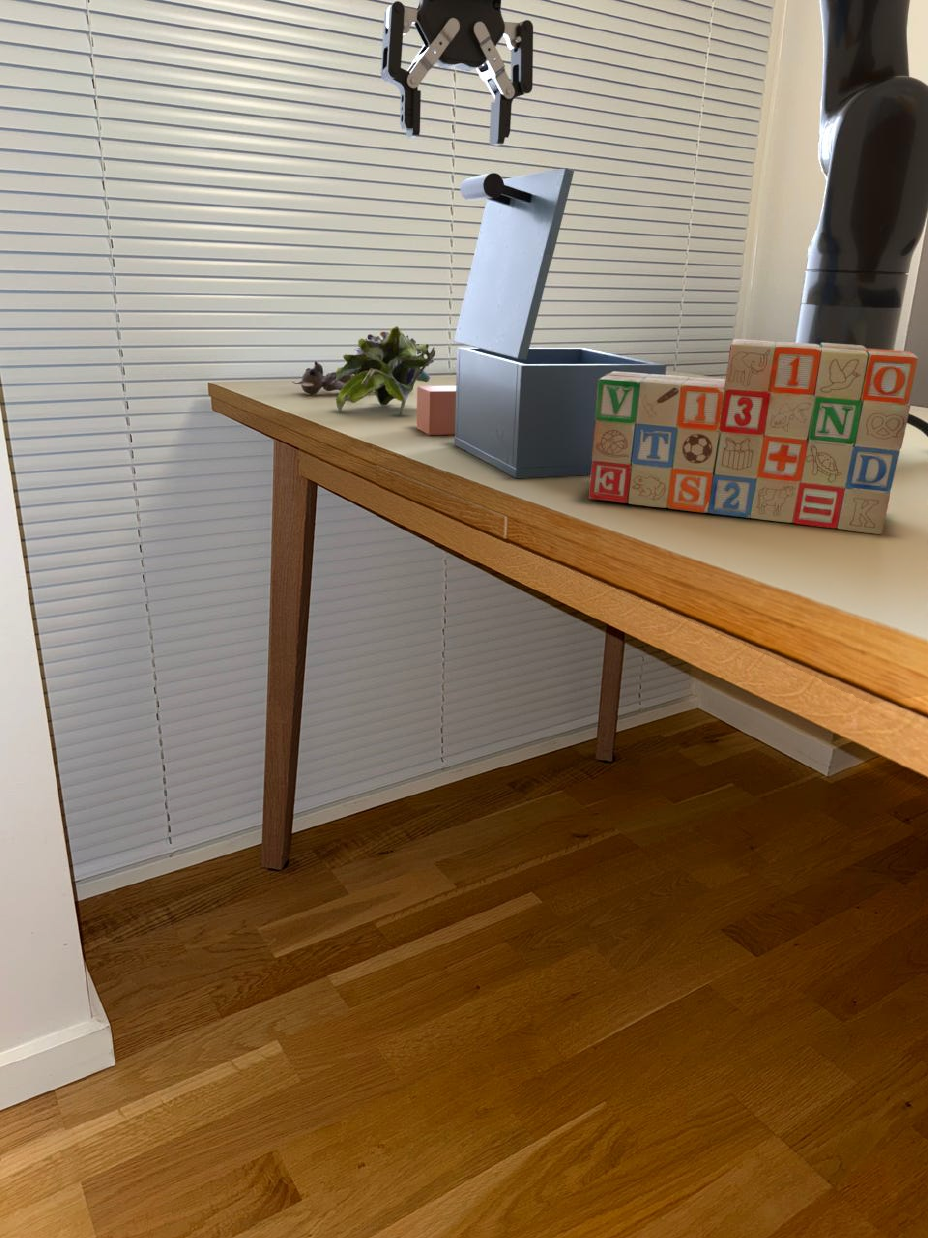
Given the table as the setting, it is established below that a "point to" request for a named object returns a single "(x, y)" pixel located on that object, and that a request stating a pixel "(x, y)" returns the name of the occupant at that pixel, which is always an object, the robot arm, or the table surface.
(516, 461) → the blue-grey open box
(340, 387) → the grey irregular figure
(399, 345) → the green leafy plant
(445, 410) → the block
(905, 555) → the table surface
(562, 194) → the lid
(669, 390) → the stack of blocks
